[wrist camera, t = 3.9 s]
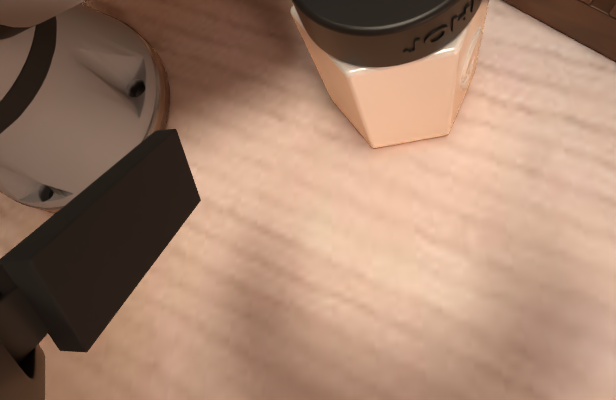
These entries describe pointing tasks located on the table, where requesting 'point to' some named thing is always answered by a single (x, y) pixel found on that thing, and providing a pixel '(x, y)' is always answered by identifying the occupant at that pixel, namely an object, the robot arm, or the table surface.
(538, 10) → the drying rack
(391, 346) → the table surface
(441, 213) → the table surface
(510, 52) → the table surface
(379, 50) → the jar
